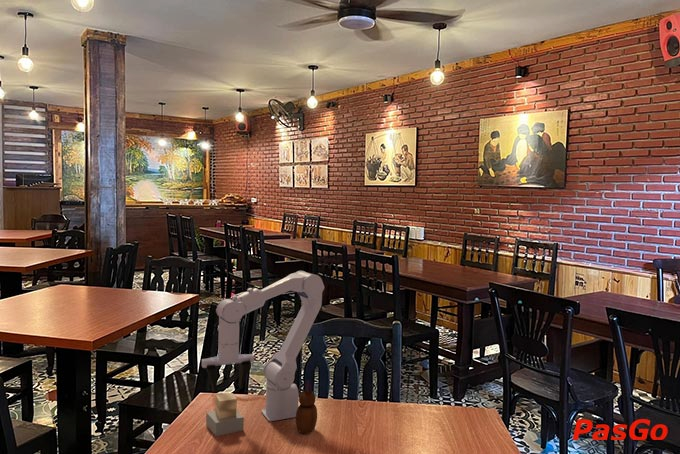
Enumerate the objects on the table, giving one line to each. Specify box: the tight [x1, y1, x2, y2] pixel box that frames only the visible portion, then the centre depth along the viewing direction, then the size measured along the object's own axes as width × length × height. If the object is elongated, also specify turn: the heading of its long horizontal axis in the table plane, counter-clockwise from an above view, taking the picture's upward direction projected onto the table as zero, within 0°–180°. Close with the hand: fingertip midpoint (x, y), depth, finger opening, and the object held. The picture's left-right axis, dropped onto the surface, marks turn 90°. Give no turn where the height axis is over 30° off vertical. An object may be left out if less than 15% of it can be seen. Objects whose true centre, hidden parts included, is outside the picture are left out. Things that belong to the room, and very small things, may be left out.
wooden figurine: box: [295, 380, 318, 435], centre depth 144 cm, size 7×6×15 cm
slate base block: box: [205, 409, 245, 437], centre depth 144 cm, size 8×8×4 cm
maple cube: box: [214, 392, 238, 419], centre depth 144 cm, size 5×5×5 cm
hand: (227, 389), depth 145 cm, fingers open, 7 cm apart
